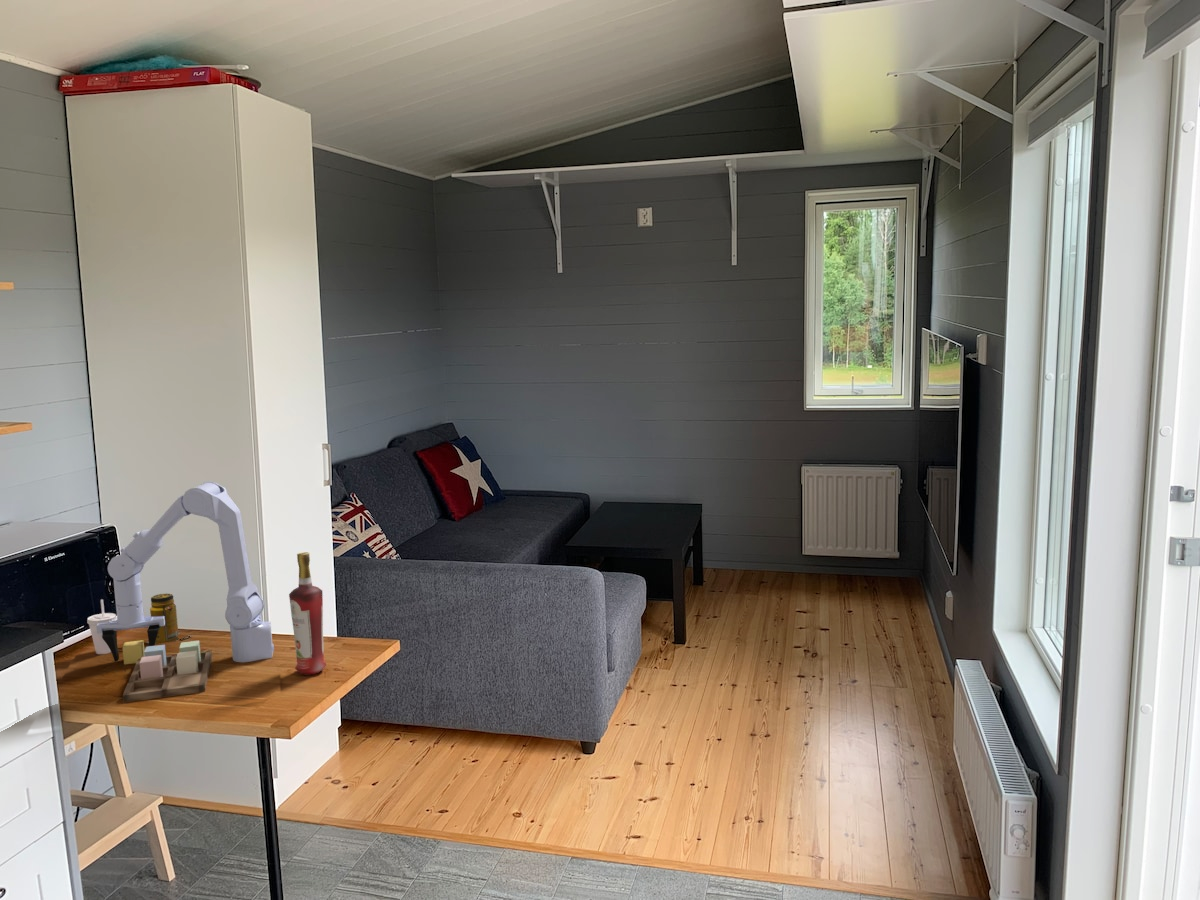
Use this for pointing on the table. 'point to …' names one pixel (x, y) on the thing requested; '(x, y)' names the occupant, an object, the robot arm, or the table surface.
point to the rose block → (151, 667)
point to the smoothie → (97, 637)
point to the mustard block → (133, 651)
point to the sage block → (191, 648)
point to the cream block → (187, 662)
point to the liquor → (307, 620)
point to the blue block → (156, 652)
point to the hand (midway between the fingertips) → (134, 657)
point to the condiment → (167, 608)
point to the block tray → (168, 680)
